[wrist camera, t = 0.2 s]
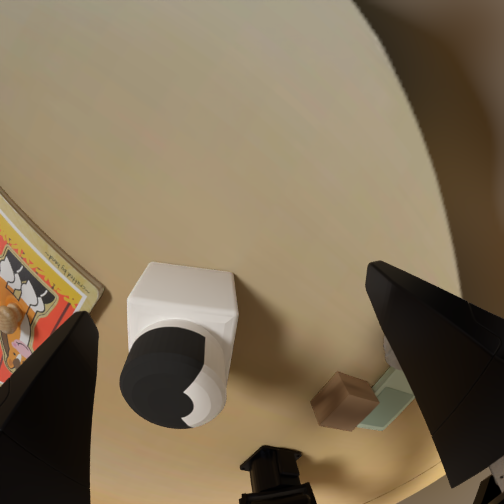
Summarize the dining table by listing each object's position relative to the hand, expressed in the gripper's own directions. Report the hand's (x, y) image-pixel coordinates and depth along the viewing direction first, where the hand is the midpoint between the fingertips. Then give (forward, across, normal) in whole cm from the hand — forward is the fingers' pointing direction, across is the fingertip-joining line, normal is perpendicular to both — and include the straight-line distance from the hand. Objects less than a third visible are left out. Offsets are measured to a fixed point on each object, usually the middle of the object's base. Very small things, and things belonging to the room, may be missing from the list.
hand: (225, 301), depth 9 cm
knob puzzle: (+15, +31, +8) cm, 35 cm away
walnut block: (+10, -9, +25) cm, 29 cm away
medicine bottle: (+13, +4, +11) cm, 18 cm away
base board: (+9, -17, +28) cm, 34 cm away
